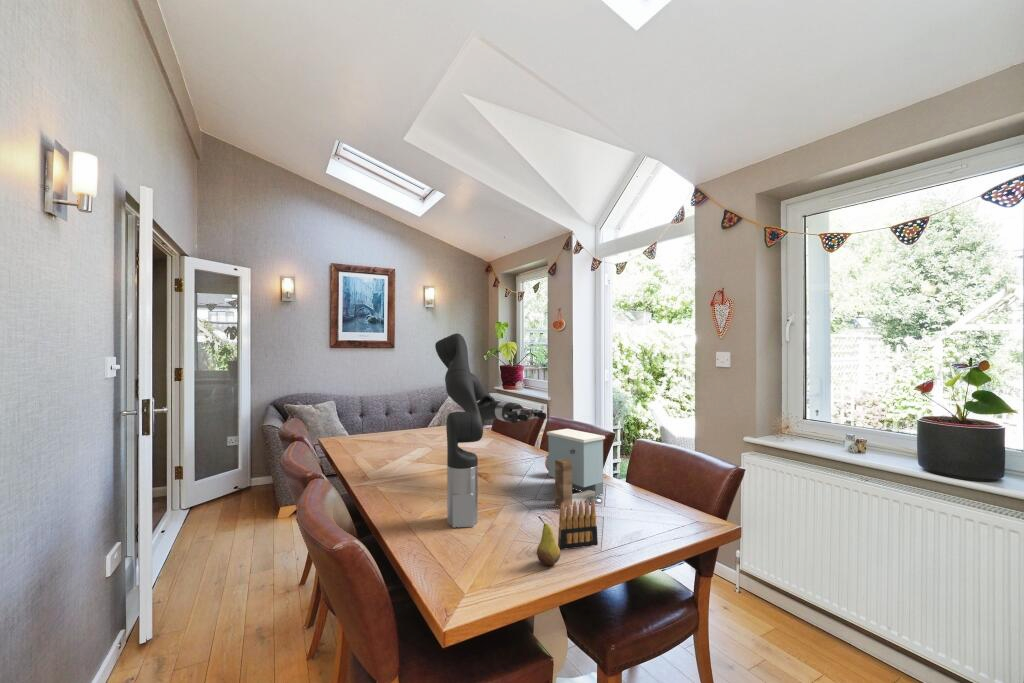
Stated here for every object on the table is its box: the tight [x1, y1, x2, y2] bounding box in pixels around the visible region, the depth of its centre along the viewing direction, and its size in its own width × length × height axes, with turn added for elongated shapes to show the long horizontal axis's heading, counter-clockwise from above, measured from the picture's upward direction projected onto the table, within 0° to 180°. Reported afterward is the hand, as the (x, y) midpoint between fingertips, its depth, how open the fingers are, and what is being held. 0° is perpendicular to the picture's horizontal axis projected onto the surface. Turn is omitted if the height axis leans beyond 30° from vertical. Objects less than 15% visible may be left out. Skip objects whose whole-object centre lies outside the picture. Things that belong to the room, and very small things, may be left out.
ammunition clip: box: [557, 500, 599, 550], centre depth 123 cm, size 11×2×12 cm, turn 104°
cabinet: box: [546, 428, 606, 497], centre depth 169 cm, size 19×12×21 cm, turn 38°
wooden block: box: [554, 459, 595, 509], centre depth 158 cm, size 4×16×15 cm, turn 128°
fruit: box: [536, 515, 561, 566], centre depth 113 cm, size 6×6×12 cm
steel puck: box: [588, 496, 603, 505], centre depth 157 cm, size 5×5×2 cm
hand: (536, 417), depth 164 cm, fingers open, 8 cm apart
